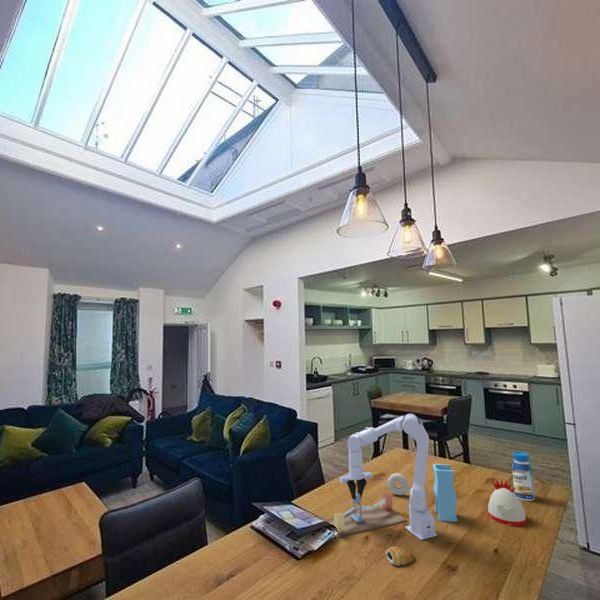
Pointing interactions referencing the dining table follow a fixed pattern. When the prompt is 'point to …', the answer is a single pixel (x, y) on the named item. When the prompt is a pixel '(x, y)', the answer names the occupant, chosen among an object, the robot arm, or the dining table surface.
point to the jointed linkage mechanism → (340, 517)
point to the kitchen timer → (506, 506)
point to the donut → (400, 478)
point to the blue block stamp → (357, 517)
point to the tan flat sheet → (370, 521)
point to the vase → (445, 493)
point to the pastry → (399, 555)
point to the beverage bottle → (522, 476)
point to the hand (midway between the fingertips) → (356, 498)
